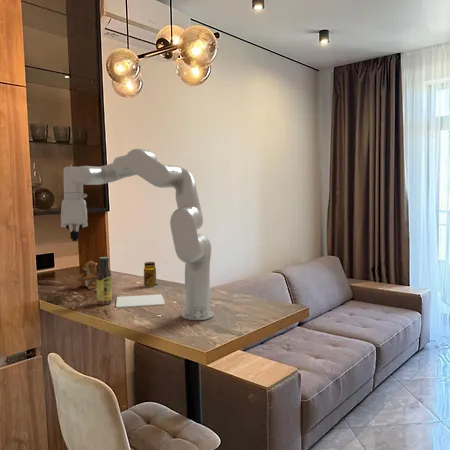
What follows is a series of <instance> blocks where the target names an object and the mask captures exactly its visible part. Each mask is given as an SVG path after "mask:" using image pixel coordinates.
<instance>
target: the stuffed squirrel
mask: <svg viewBox="0 0 450 450" xmlns="http://www.w3.org/2000/svg"><path fill="white" fill-rule="evenodd" d="M97 266H98V262H95V261H93V260H89V261H87V262H86V263H85V264H84V265H83V267H82V270H84V271H85V272H82V273H81V274H80V275H79V276H80V278H81V279H83V280H84V282H80V283H79V287H80V286H81V287H82V288H83V287H85V286H86V287H87V288H88V290H94V288H95V289H97V272H98V270H99V269H100V268H99V266H98V267H97Z"/></svg>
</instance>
